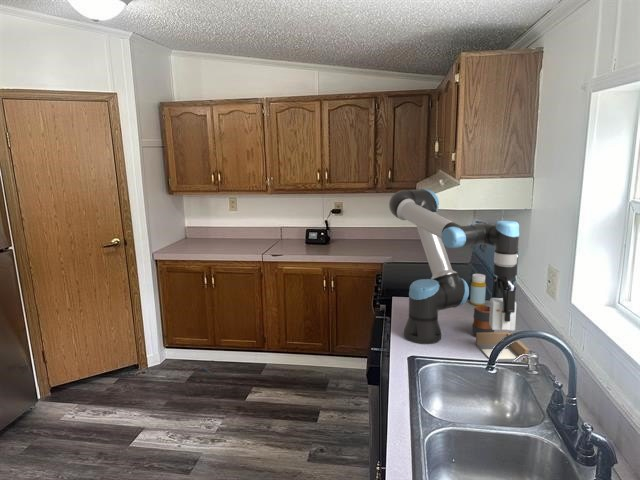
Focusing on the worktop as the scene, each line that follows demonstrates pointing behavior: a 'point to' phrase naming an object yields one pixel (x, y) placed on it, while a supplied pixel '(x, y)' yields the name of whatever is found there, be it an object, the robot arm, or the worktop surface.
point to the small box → (499, 314)
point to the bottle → (478, 289)
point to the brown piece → (490, 339)
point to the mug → (481, 320)
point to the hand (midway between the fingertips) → (501, 325)
